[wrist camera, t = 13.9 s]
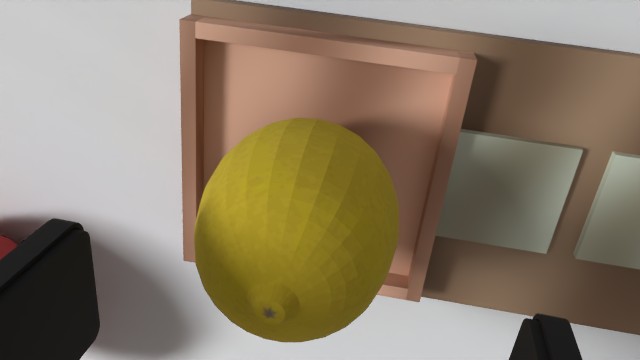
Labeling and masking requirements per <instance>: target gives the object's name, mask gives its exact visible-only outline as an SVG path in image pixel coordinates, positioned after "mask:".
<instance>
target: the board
mask: <svg viewBox="0 0 640 360" xmlns="http://www.w3.org/2000/svg"><path fill="white" fill-rule="evenodd" d="M180 74H181V134H182V194H183V254H184V261H189V262H195V249H194V228H195V223H196V218H197V214H198V210H199V206H200V202H201V198H202V195H203V192H204V189H205V187H206V185H207V183H208V181H209V180H210V178H211V176H212V175H213V173H214V171H215V170H216V168H217V166H218V165H219V163H220V161H221V160H222V159H223V157H224V156H225V155H226V154H227V153H228V152H229V151H230V150H231V149H233V148H234V147H235V146H236V145H237V144H238V143H239V142H240V141H241V140H243V139H244V138H245V137H246V136H247V135H249V134H251V133H252V132H255V131H257V130H259V129H261V128H263V127H265V126H267V125H269V124H271V123H274V122H278V121H283V120H288V119H292V118H313V119H321V120H324V121H328V122H331V123H335V124H338V125H341V126H343V127H344V128H346V129H348V130H350V131H351V132H353V133H355V134H357V135H359V136H360V137H361V138H362V139H363V140H364V141H365V142H366V143H367V144H368V145H369V146H370V147H371V148H373V149H374V150H375V151H376V153H377V154H378V156H379V157H380V159H381V161H382V162H383V164H384V165H385V167H386V169H387V170H388V172H389V174H390V176H391V179H392V183H393V186H394V189H395V193H396V196H397V199H398V204H399V238H398V244H397V248H396V251H395V254H394V257H393V261H392V264H391V267H390V270H389V273H388V276H387V278H386V280H385V282H384V284H383V285H382V287H381V288H380V290H379V292H378V293H377V295H382V296H387V297H393V298H399V299H404V300H410V301H416V302H420V298H421V297H426V298H432V299H438V300H443V301H449V302H455V303H461V304H466V305H472V306H478V307H483V308H489V309H495V310H500V311H506V312H512V313H517V314H523V315H529V316H535V314H537V313H539V314H545V315H550V316H555V317H560V318H565V319H567V320H568V321H569V323H574V324H580V325H586V326H591V327H597V328H603V329H608V330H614V331H620V332H625V333H631V334H637V335H640V54H635V53H628V52H620V51H612V50H605V49H597V48H590V47H582V46H575V45H567V44H560V43H552V42H545V41H537V40H529V39H522V38H514V37H507V36H499V35H492V34H484V33H477V32H469V31H462V30H454V29H446V28H439V27H431V26H424V25H416V24H409V23H401V22H394V21H386V20H379V19H371V18H363V17H356V16H348V15H341V14H333V13H326V12H318V11H311V10H303V9H296V8H288V7H280V6H273V5H265V4H258V3H250V2H243V1H235V0H191V15H188V16H186V17H184V18H182V19H180Z"/></svg>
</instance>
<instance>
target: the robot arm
mask: <svg viewBox="0 0 640 360" xmlns="http://www.w3.org/2000/svg"><path fill="white" fill-rule="evenodd" d="M99 327H100V321H99V312H98V304H97V295H96V287H95V278H94V269H93V261H92V252H91V244H90V236H89V234H88V232H86V231H84V229H83V227H82V225H81V224H79V223H76V222H71V221H66V220H60V219H51V220H50V221H48V222H47V223H45V224H44V225H43V226H42V227H40V228H39V229H38V230H37V231H35V232H34V233H33V234H32V235H31V236H29V237H28V238H27V239H26V240H24V241H23V242H22V243H21V244H19V245H18V246H17V247H16V248H14V249H13V250H12V251H11V252H9V253H8V254H7V255H6V256H4V257H3V258H2V259H1V260H0V360H79V359H80V358H81V357H82V356H83V354H84V353H85V352H86V351H87V349H88V348H89V347H90V346H91V344H92V343H93V342H94V340H95V339H96V337H97V335H98V332H99ZM509 360H582V357H581V354H580V352H579V349H578V346H577V343H576V340H575V337H574V334H573V331H572V328H571V325H570V323H569V321H568V320H567V319H565V318H560V317H555V316H550V315H545V314H539V313H537V314H535V316H534V317H533V319H527V318H526V319H524V320H523V322H522V325H521V328H520V330H519V333H518V336H517V339H516V341H515V344H514V347H513V350H512V353H511V355H510V358H509Z"/></svg>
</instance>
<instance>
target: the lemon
mask: <svg viewBox="0 0 640 360" xmlns="http://www.w3.org/2000/svg"><path fill="white" fill-rule="evenodd" d="M398 238H399V204H398V199H397V196H396V193H395V189H394V186H393V183H392V179H391V176H390V174H389V172H388V170H387V169H386V167H385V165H384V164H383V162H382V161H381V159H380V157H379V156H378V154H377V153H376V151H375V150H374V149H373V148H371V147H370V146H369V145H368V144H367V143H366V142H365V141H364V140H363V139H362V138H361V137H360V136H359V135H357V134H355V133H353V132H351V131H350V130H348V129H346V128H344V127H343V126H341V125H338V124H335V123H331V122H328V121H324V120H321V119H313V118H292V119H288V120H283V121H278V122H274V123H271V124H269V125H267V126H265V127H263V128H261V129H259V130H257V131H255V132H252V133H251V134H249V135H247V136H246V137H245V138H244V139H243V140H241V141H240V142H239V143H238V144H237V145H236V146H235V147H234V148H233V149H231V150H230V151H229V152H228V153H227V154H226V155H225V156H224V157H223V159H222V160H221V161H220V163H219V165H218V166H217V168H216V170H215V171H214V173H213V175H212V176H211V178H210V180H209V181H208V183H207V185H206V187H205V189H204V192H203V195H202V198H201V202H200V206H199V210H198V214H197V218H196V223H195V228H194V249H195V263H196V267H197V269H198V272H199V275H200V278H201V281H202V284H203V286H204V289H205V291H206V292H207V294H208V295H209V297H210V298H211V300H212V301H213V303H214V304H215V306H216V307H217V308H218V309H219V310H220V311H221V312H222V313H223V314H224V315H225V316H226V317H227V318H228V319H229V320H230V321H231V322H233V323H234V324H236V325H237V326H239V327H241V328H242V329H244V330H245V331H247V332H249V333H252V334H254V335H257V336H259V337H262V338H264V339H269V340H274V341H279V342H304V341H309V340H314V339H319V338H323V337H326V336H328V335H330V334H332V333H335V332H337V331H339V330H341V329H343V328H344V327H346V326H348V325H349V324H350V323H351V322H352V321H354V320H355V319H356V318H357V317H358V316H360V315H361V314H362V313H363V312H364V311H365V310H366V309H367V308H368V306H369V305H370V303H371V302H372V300H373V299H374V298H375V296H376V295H377V293H378V292H379V290H380V288H381V287H382V285H383V284H384V282H385V280H386V278H387V276H388V273H389V270H390V267H391V264H392V261H393V257H394V254H395V251H396V248H397V244H398Z"/></svg>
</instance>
